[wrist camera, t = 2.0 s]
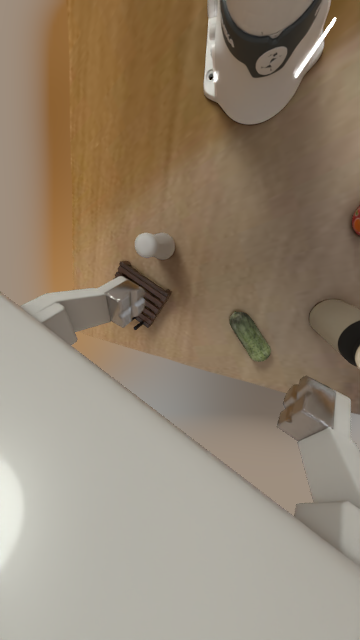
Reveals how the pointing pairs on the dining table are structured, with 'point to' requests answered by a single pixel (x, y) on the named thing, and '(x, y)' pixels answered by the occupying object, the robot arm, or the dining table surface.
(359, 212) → the smoothie
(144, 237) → the salt shaker
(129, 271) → the drying rack
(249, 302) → the dining table surface
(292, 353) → the dining table surface
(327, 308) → the travel mug
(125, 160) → the dining table surface
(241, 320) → the vegetable
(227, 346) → the dining table surface
